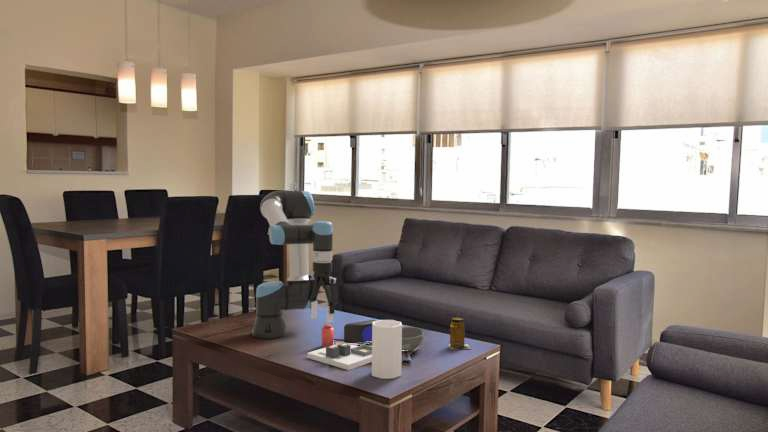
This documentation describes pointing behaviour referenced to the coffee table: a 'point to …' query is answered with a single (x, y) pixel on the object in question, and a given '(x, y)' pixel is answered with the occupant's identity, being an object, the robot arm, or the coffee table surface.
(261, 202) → the robot arm
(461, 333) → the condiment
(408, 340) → the bowl
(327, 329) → the cap
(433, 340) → the coffee table surface
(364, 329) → the leaning round-cornered charcoal block
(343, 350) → the breaker
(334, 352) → the breaker
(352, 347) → the panel
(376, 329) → the white canister
